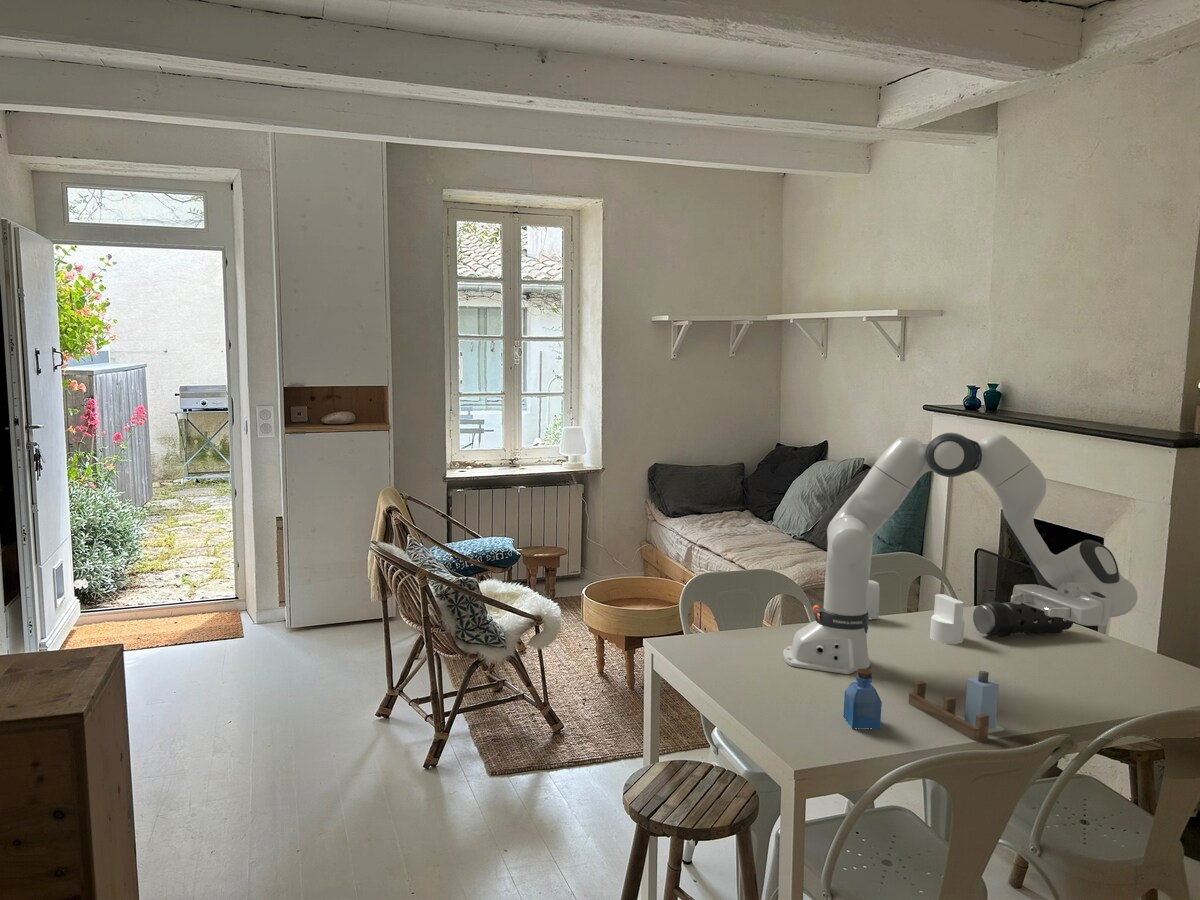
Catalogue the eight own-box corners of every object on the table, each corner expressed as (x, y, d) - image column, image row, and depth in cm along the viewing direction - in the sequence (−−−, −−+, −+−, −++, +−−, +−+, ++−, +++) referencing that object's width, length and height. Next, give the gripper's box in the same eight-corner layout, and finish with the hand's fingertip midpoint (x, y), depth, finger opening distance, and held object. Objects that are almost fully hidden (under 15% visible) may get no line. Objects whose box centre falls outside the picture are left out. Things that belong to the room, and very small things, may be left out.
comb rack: (974, 740, 189) (975, 718, 188) (908, 703, 208) (909, 682, 207) (1010, 733, 192) (1012, 711, 192) (943, 697, 211) (944, 677, 211)
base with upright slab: (923, 635, 258) (925, 595, 256) (949, 632, 261) (951, 593, 259) (943, 645, 249) (946, 604, 248) (970, 642, 252) (973, 602, 251)
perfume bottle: (870, 717, 199) (873, 666, 198) (880, 729, 193) (883, 676, 192) (843, 717, 199) (846, 666, 198) (852, 729, 193) (855, 676, 192)
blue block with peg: (979, 730, 193) (983, 677, 192) (964, 721, 197) (968, 670, 196) (995, 727, 195) (999, 674, 193) (979, 719, 199) (983, 667, 198)
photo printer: (847, 621, 269) (850, 581, 268) (842, 617, 274) (844, 578, 272) (880, 621, 271) (882, 581, 269) (874, 616, 275) (876, 577, 273)
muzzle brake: (1073, 637, 259) (1076, 603, 258) (991, 643, 252) (993, 608, 251) (1049, 627, 268) (1052, 594, 267) (969, 632, 261) (972, 598, 260)
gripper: (1040, 576, 211) (995, 579, 207) (1116, 600, 193) (1069, 605, 188) (1037, 601, 212) (992, 606, 207) (1113, 628, 193) (1066, 634, 188)
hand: (1029, 606), depth 197 cm, fingers open, 8 cm apart
